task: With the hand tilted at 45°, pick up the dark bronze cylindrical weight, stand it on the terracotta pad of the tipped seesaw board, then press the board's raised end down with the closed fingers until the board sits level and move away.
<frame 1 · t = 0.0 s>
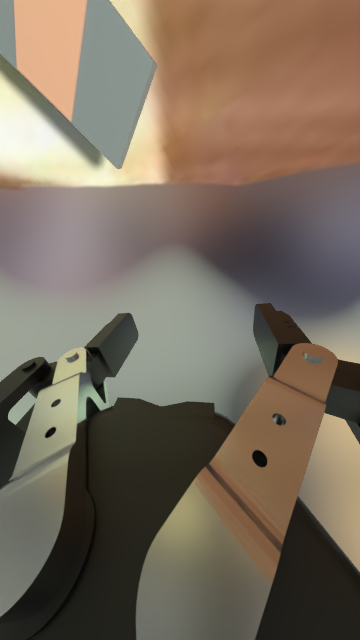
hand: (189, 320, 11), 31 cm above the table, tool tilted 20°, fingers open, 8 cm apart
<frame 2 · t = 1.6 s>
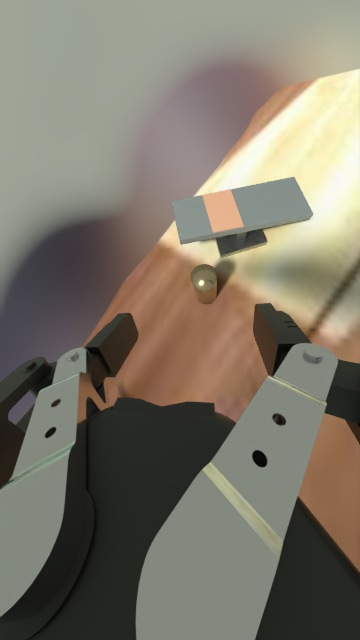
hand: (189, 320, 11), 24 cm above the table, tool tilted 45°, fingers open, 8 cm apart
seesaw board: (238, 209, 33), point 6 cm above the table, hinge at -10.0°
pivot stand: (235, 230, 38), on the table
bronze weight: (207, 294, 36), on the table
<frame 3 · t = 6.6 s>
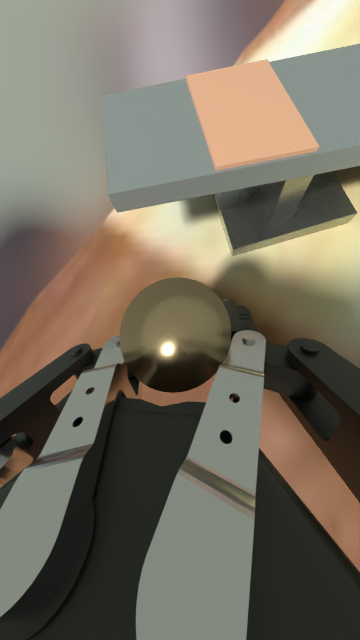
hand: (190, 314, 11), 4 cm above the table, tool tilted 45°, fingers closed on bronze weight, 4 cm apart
seesaw board: (291, 112, 11), point 6 cm above the table, hinge at -10.0°
pivot stand: (266, 192, 17), on the table
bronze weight: (198, 346, 15), on the table, touching gripper
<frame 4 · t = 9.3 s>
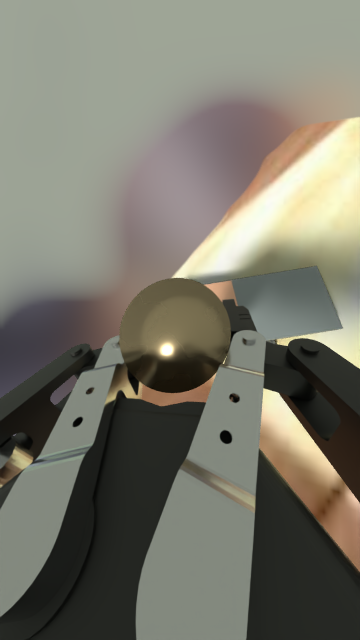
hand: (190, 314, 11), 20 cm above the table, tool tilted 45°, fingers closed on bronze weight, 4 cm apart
seesaw board: (240, 310, 24), point 6 cm above the table, hinge at -10.0°
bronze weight: (198, 346, 15), point 16 cm above the table, touching gripper
when the fingers open (12 cm above the table, at t = 11.9 s): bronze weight drops 1 cm, resting on seesaw board.
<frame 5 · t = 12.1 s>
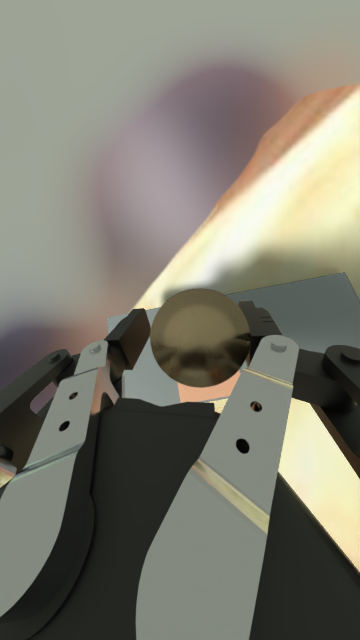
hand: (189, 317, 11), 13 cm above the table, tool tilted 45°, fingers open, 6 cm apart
seesaw board: (235, 341, 17), point 6 cm above the table, hinge at -9.4°, touching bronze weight
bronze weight: (199, 348, 16), point 7 cm above the table, tilted 6°, touching gripper, seesaw board
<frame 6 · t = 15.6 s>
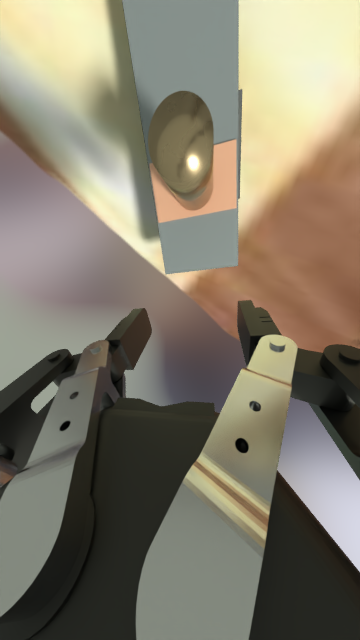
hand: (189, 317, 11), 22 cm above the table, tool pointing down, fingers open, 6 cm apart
seesaw board: (190, 149, 18), point 6 cm above the table, hinge at -9.4°, touching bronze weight
pivot stand: (194, 164, 23), on the table
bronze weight: (194, 188, 19), point 7 cm above the table, tilted 9°, touching seesaw board
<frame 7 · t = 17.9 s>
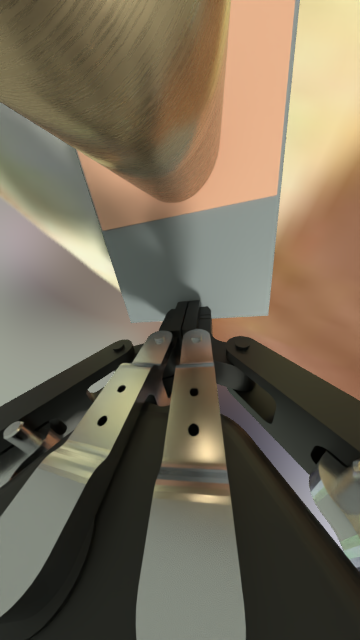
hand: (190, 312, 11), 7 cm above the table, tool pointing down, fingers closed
seesaw board: (157, 27, 6), point 6 cm above the table, hinge at -5.1°, touching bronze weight, gripper
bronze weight: (171, 145, 8), point 7 cm above the table, tilted 5°, touching seesaw board
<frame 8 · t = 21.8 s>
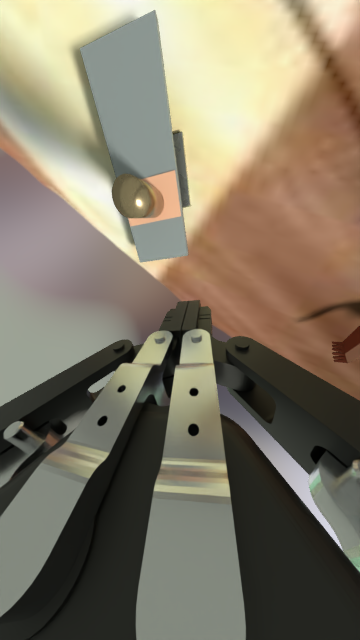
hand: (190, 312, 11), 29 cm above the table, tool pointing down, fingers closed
seesaw board: (146, 174, 26), point 6 cm above the table, hinge at 0.1°, touching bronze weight
pivot stand: (156, 181, 31), on the table
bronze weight: (151, 202, 27), point 6 cm above the table, touching seesaw board
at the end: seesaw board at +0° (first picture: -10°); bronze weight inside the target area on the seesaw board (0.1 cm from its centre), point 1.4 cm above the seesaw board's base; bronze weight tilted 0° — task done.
